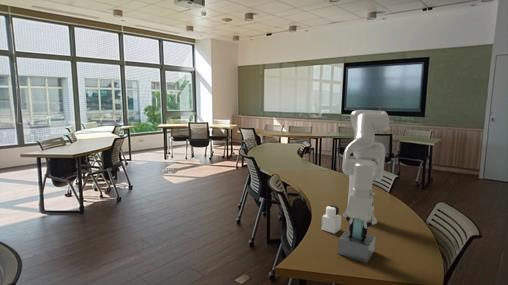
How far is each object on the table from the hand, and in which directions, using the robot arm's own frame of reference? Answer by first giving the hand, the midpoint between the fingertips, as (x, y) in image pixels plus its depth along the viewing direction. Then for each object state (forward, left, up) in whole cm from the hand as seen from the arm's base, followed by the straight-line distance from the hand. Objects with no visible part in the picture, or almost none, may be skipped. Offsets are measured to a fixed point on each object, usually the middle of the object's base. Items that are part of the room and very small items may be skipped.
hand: (357, 234), depth 130 cm
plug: (0, 0, -2) cm, 2 cm away
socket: (0, 0, -8) cm, 8 cm away
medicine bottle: (-16, -17, -9) cm, 25 cm away
